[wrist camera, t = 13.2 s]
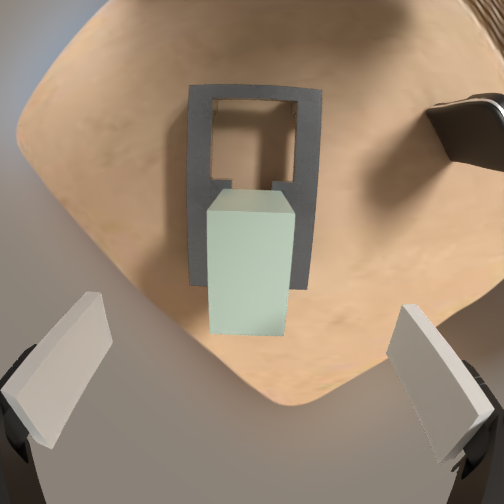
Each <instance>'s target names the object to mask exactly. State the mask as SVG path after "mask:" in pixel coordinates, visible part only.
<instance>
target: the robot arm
mask: <svg viewBox="0 0 504 504" xmlns="http://www.w3.org/2000/svg"><path fill="white" fill-rule="evenodd" d="M112 343H113V341H112V337H111V333H110V329H109V325H108V321H107V317H106V313H105V308H104V304H103V299H102V294H101V293H100V292H91V291H87V292H86V293H85V294H84V295H83V296H82V297H81V298H80V299H79V300H78V301H77V302H76V303H75V304H74V305H73V306H72V307H71V308H70V309H69V311H68V312H67V313H66V314H65V315H64V316H63V317H62V318H61V319H60V320H59V321H58V323H57V324H56V325H55V326H54V327H53V328H52V329H51V330H50V331H49V333H48V334H47V335H46V336H45V337H44V338H43V339H42V340H41V341H40V343H39V344H38V345H37V344H34V345H33V346H31V347H30V348H28V349H27V350H25V351H24V352H23V354H22V355H21V356H20V357H19V358H18V360H17V361H16V362H15V363H14V364H13V367H11V368H10V369H9V370H8V371H7V372H6V374H5V375H4V376H3V377H2V379H1V380H0V504H46V501H45V498H44V496H43V492H42V489H41V486H40V483H39V479H38V476H37V472H36V468H35V465H34V461H33V457H32V453H31V448H30V444H29V441H28V440H27V436H28V434H29V433H30V434H31V436H32V437H33V438H34V439H35V441H36V442H37V443H39V444H41V445H44V446H46V447H48V448H50V449H53V447H54V445H55V443H56V441H57V439H58V437H59V435H60V433H61V431H62V429H63V428H64V426H65V424H66V422H67V420H68V418H69V417H70V414H71V413H72V411H73V409H74V407H75V406H76V404H77V402H78V400H79V399H80V397H81V395H82V393H83V392H84V390H85V388H86V386H87V385H88V383H89V381H90V380H91V378H92V376H93V375H94V373H95V371H96V370H97V368H98V366H99V365H100V363H101V361H102V359H103V358H104V356H105V355H106V353H107V351H108V350H109V348H110V346H111V345H112ZM386 354H387V356H388V358H389V360H390V361H391V363H392V365H393V367H394V369H395V371H396V373H397V375H398V377H399V379H400V381H401V383H402V385H403V387H404V389H405V391H406V393H407V395H408V397H409V399H410V402H411V404H412V406H413V408H414V410H415V412H416V414H417V416H418V418H419V420H420V423H421V425H422V427H423V429H424V432H425V434H426V436H427V438H428V440H429V443H430V445H431V448H432V450H433V452H434V455H435V457H436V459H437V462H438V464H440V463H443V462H445V461H448V460H451V459H454V458H455V457H456V456H457V455H458V454H459V452H461V450H462V449H463V450H464V452H465V455H464V457H462V459H461V460H460V461H459V462H458V463H457V464H456V465H455V466H454V467H453V468H452V470H451V471H452V472H454V471H455V470H456V469H457V467H459V470H458V471H457V476H456V479H455V482H454V485H453V488H452V490H451V493H450V496H449V498H448V501H447V504H504V409H502V407H501V405H500V404H499V402H498V401H497V399H496V398H495V396H494V395H493V394H492V392H491V391H490V389H489V388H488V386H487V385H486V384H485V383H484V381H483V379H482V378H481V377H479V376H480V375H479V374H478V373H477V371H476V370H475V369H474V367H472V366H471V365H470V364H469V363H467V362H466V361H465V360H460V359H459V357H458V356H457V355H456V353H455V352H454V351H453V349H452V348H451V347H450V345H449V344H448V343H447V342H446V340H445V339H444V338H443V337H442V335H441V334H440V333H439V331H438V330H437V329H436V328H435V326H434V325H433V324H432V323H431V322H430V320H429V319H428V318H427V317H426V315H425V314H424V313H423V312H422V311H421V309H420V308H419V307H418V306H417V305H416V304H402V306H401V310H400V313H399V316H398V320H397V323H396V326H395V329H394V332H393V335H392V338H391V341H390V344H389V347H388V350H387V352H386Z"/></svg>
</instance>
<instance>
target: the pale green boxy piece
mask: <svg viewBox="0 0 504 504" xmlns="http://www.w3.org/2000/svg"><path fill="white" fill-rule="evenodd" d="M294 226H295V212H294V211H293V209H292V207H291V206H290V204H289V203H288V201H287V200H286V198H285V196H284V195H283V193H282V192H281V191H273V190H248V189H223V190H222V191H221V192H220V194H219V195H218V196H217V198H216V199H215V200H214V202H213V203H212V204H211V206H210V207H209V208H208V210H207V267H208V302H209V328H210V334H227V335H252V336H284V331H285V322H286V313H287V303H288V294H289V284H290V273H291V262H292V251H293V239H294Z"/></svg>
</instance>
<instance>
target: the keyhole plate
mask: <svg viewBox="0 0 504 504" xmlns="http://www.w3.org/2000/svg"><path fill="white" fill-rule="evenodd" d="M218 100H263V101H280V102H292V115H296V126H295V148H294V167H293V181H276V180H272V190H273V191H281V192H282V193H283V195H284V196H285V198H286V200H287V201H288V203H289V204H290V206H291V207H292V209H293V211H294V212H295V226H294V239H293V251H292V262H291V273H290V284H289V289H297V290H307V286H308V277H309V269H310V260H311V251H312V242H313V232H314V221H315V210H316V198H317V185H318V171H319V155H320V136H321V112H322V90H316V89H308V88H297V87H286V86H271V85H245V84H212V85H189V101H188V127H187V236H188V263H189V283H190V285H191V286H208V267H207V210H208V208H209V207H210V206H211V204H212V203H213V202H214V200H215V199H216V198H217V196H218V195H219V194H220V192H221V191H222V190H223V189H232V179H214V178H212V141H213V112H218Z"/></svg>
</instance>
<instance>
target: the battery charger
mask: <svg viewBox="0 0 504 504" xmlns="http://www.w3.org/2000/svg"><path fill="white" fill-rule="evenodd" d="M427 115H428V116H429V118H430V120H431V122H432V124H433V126H434V128H435V130H436V132H437V134H438V136H439V138H440V140H441V141H442V143H443V145H444V147H445V149H446V152H447V154H448V156H449V158H450V160H451V161H453V162H461V163H467V164H471V165H475V166H479V167H483V168H487V169H491V170H496V171H501V172H504V95H503V94H499V93H484V94H476V95H472V96H470V97H469V98H467V99H464V100H459V101H455V102H451V103H439V104H436V105H434V106H431V107H430V108H429V109H428V110H427Z"/></svg>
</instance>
